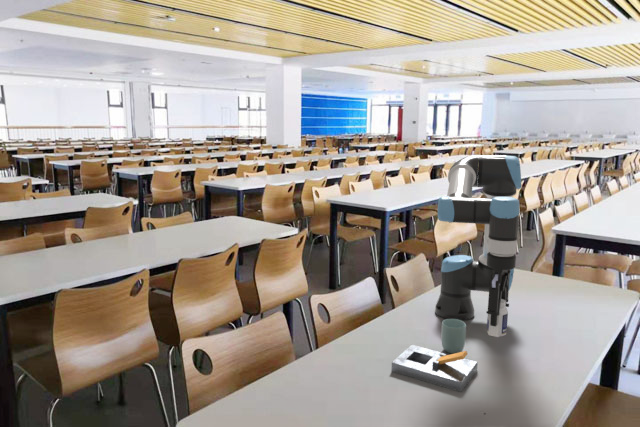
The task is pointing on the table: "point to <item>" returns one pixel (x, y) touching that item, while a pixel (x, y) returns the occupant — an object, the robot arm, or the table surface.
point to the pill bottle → (501, 319)
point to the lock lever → (451, 357)
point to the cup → (453, 335)
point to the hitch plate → (434, 368)
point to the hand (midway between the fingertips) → (496, 331)
